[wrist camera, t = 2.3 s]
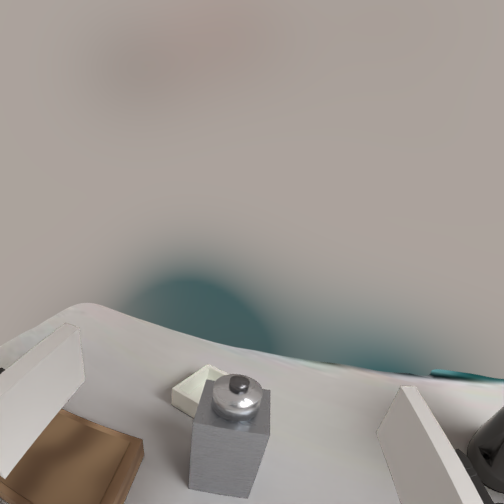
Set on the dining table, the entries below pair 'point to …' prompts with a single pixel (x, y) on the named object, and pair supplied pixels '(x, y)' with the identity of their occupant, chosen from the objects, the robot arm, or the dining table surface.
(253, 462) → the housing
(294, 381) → the dining table surface
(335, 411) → the dining table surface
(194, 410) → the box
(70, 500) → the stand
